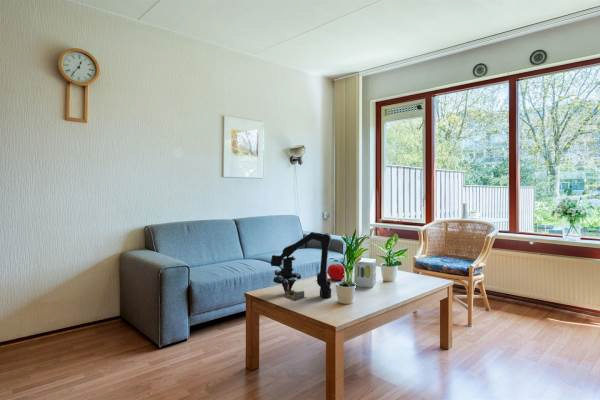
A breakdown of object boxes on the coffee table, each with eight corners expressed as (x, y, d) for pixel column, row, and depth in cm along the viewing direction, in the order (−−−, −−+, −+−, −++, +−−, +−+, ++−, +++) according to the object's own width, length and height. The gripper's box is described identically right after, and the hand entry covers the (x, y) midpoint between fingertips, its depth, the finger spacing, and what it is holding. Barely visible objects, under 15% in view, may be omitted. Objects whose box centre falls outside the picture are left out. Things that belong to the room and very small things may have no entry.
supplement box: (353, 285, 251) (354, 260, 250) (357, 281, 263) (357, 257, 263) (372, 288, 246) (373, 262, 246) (375, 283, 259) (376, 258, 258)
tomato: (342, 282, 259) (342, 266, 258) (324, 280, 264) (324, 264, 264) (347, 278, 270) (347, 263, 269) (330, 276, 275) (330, 261, 275)
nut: (300, 297, 221) (300, 292, 221) (296, 298, 218) (296, 293, 218) (296, 296, 223) (296, 290, 223) (292, 297, 221) (292, 291, 221)
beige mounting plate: (307, 298, 221) (307, 290, 221) (295, 302, 214) (295, 294, 214) (290, 293, 232) (290, 285, 231) (279, 296, 225) (279, 288, 224)
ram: (294, 294, 226) (294, 285, 225) (288, 296, 222) (288, 286, 222) (288, 292, 229) (288, 283, 229) (282, 294, 226) (282, 284, 226)
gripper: (289, 262, 238) (289, 286, 239) (267, 266, 225) (267, 291, 226) (301, 265, 230) (301, 289, 231) (279, 270, 217) (279, 295, 218)
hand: (287, 291), depth 227 cm, fingers open, 3 cm apart
